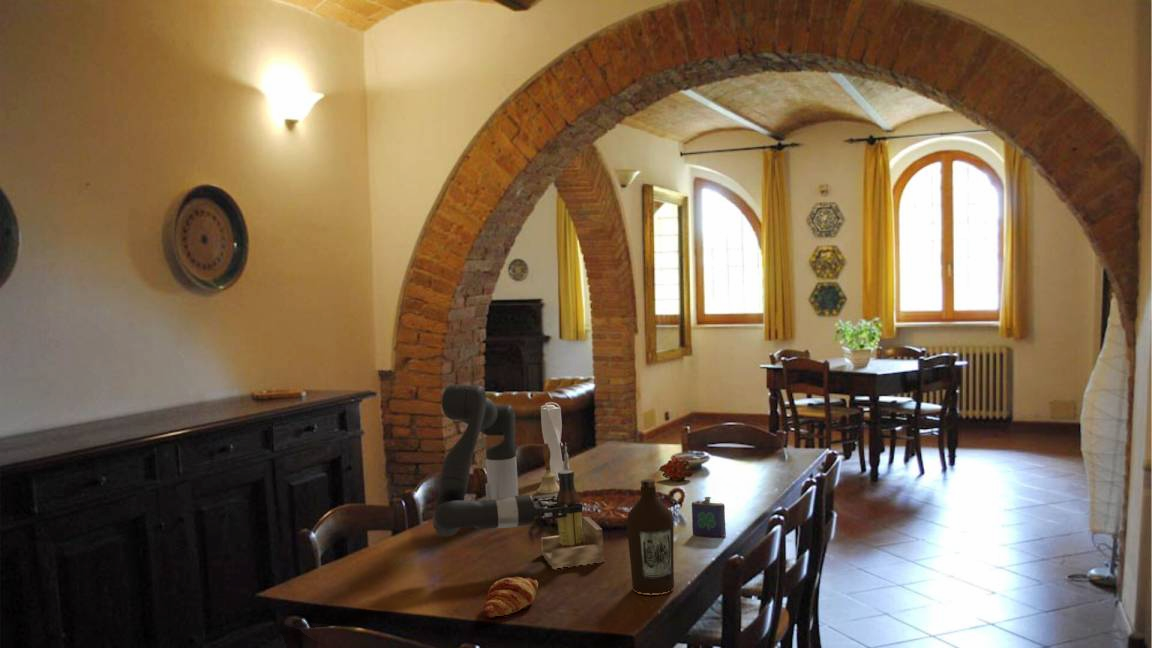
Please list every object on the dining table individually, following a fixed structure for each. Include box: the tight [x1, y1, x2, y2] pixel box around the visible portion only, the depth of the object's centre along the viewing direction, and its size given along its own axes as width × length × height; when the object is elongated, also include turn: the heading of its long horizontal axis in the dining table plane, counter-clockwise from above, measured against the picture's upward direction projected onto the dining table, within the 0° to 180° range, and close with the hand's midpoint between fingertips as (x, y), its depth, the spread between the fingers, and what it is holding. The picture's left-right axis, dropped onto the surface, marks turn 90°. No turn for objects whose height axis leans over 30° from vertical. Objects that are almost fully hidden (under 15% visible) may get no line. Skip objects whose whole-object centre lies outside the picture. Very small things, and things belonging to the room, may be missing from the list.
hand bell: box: [536, 443, 560, 495], centre depth 310 cm, size 8×8×16 cm
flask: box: [691, 496, 727, 539], centre depth 248 cm, size 9×3×11 cm, turn 63°
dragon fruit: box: [658, 456, 694, 482], centre depth 315 cm, size 8×8×12 cm
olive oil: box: [626, 478, 675, 594], centre depth 209 cm, size 11×11×25 cm
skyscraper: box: [540, 401, 570, 483], centre depth 325 cm, size 8×8×28 cm
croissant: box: [482, 576, 539, 618], centre depth 205 cm, size 21×10×8 cm, turn 154°
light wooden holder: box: [540, 516, 605, 570], centre depth 235 cm, size 13×13×8 cm
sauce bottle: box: [556, 469, 584, 548], centre depth 235 cm, size 7×6×20 cm
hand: (578, 504), depth 236 cm, fingers closed on sauce bottle, 6 cm apart
